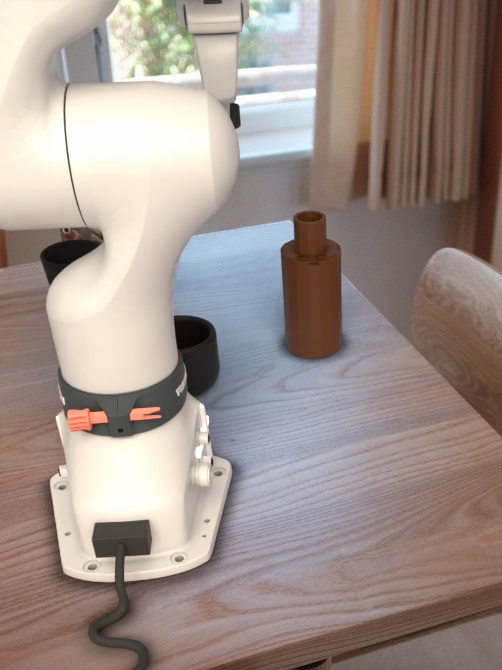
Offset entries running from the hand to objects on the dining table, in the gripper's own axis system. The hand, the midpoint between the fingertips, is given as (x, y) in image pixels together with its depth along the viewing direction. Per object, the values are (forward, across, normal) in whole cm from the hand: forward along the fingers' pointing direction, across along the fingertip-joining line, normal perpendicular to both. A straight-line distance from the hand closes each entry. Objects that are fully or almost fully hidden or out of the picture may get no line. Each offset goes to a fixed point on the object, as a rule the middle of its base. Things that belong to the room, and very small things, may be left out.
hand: (222, 121), depth 119 cm
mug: (+22, +30, -9) cm, 38 cm away
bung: (+2, 0, 0) cm, 2 cm away
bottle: (+22, +22, +9) cm, 32 cm away
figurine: (+22, +6, -21) cm, 31 cm away
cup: (+22, +16, -20) cm, 34 cm away
